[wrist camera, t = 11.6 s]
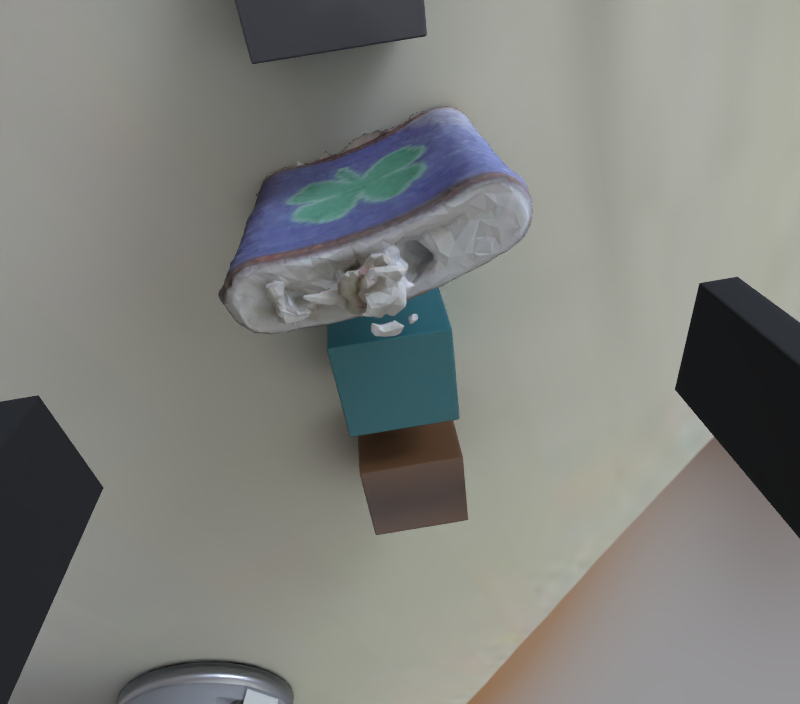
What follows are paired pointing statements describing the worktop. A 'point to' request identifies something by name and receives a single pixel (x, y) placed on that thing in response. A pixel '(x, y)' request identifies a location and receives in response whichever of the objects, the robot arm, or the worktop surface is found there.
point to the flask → (374, 226)
